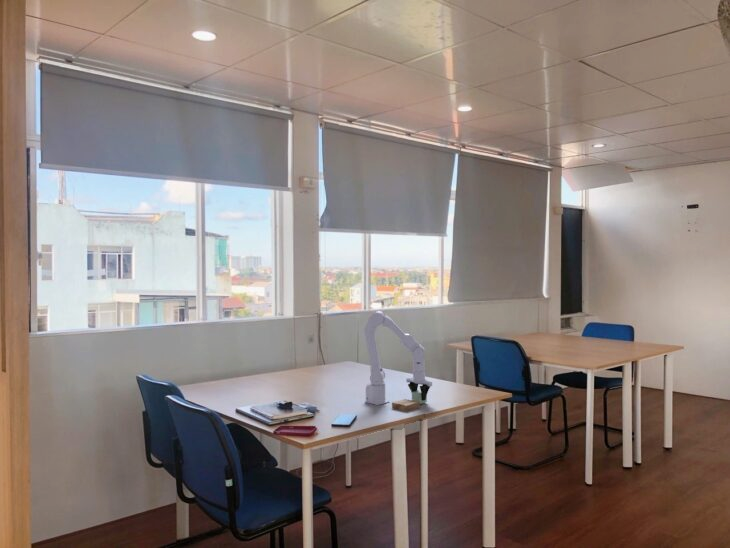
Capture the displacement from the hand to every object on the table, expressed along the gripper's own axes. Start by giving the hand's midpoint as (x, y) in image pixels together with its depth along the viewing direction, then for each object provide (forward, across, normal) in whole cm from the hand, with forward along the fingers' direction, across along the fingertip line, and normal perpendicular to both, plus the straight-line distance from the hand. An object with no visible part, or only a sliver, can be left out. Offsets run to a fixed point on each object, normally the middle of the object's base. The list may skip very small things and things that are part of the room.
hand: (419, 399), depth 278 cm
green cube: (+1, 0, 0) cm, 1 cm away
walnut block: (+2, -1, +11) cm, 11 cm away
